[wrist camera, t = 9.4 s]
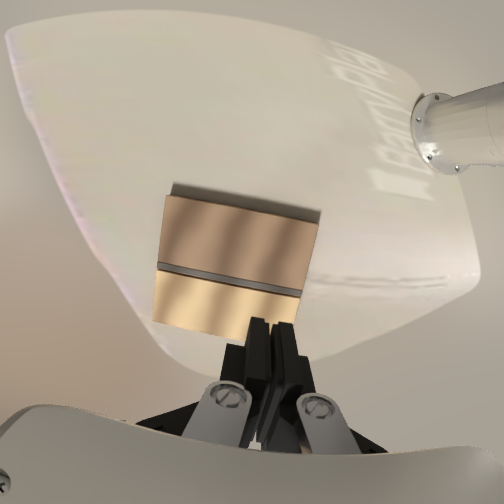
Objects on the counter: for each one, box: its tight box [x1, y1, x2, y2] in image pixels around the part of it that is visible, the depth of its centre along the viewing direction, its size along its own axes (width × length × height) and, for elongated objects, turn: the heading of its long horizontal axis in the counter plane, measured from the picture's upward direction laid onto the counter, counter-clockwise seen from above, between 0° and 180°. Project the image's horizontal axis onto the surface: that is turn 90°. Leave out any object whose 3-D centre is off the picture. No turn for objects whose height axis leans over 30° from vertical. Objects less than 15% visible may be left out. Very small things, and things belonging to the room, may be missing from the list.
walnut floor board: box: [157, 195, 319, 297], centre depth 40 cm, size 20×10×2 cm, turn 79°
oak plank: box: [152, 268, 300, 341], centre depth 42 cm, size 20×8×2 cm, turn 79°
